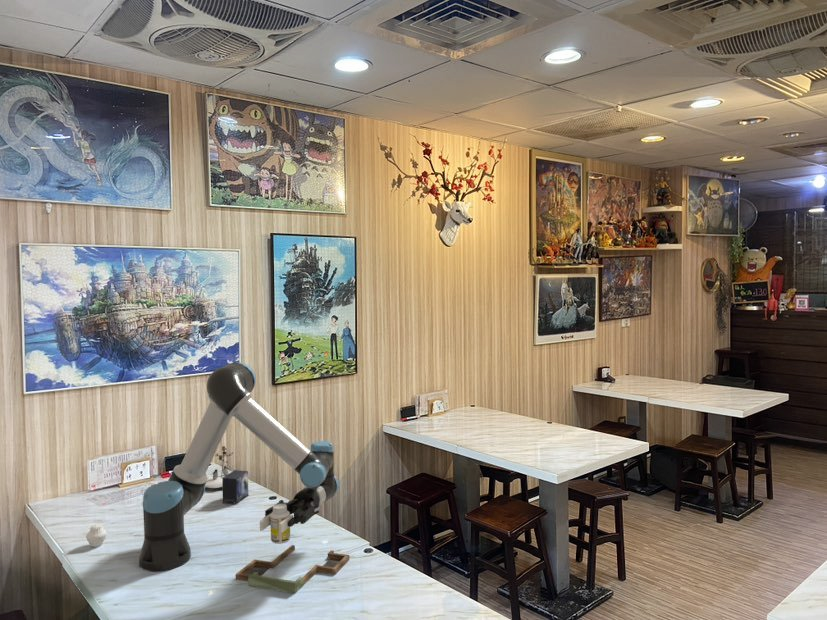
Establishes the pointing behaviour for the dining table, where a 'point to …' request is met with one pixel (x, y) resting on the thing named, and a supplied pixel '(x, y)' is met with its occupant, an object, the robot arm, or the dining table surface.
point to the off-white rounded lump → (96, 536)
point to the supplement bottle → (275, 518)
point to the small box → (235, 487)
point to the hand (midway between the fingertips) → (270, 527)
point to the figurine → (216, 480)
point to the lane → (260, 567)
